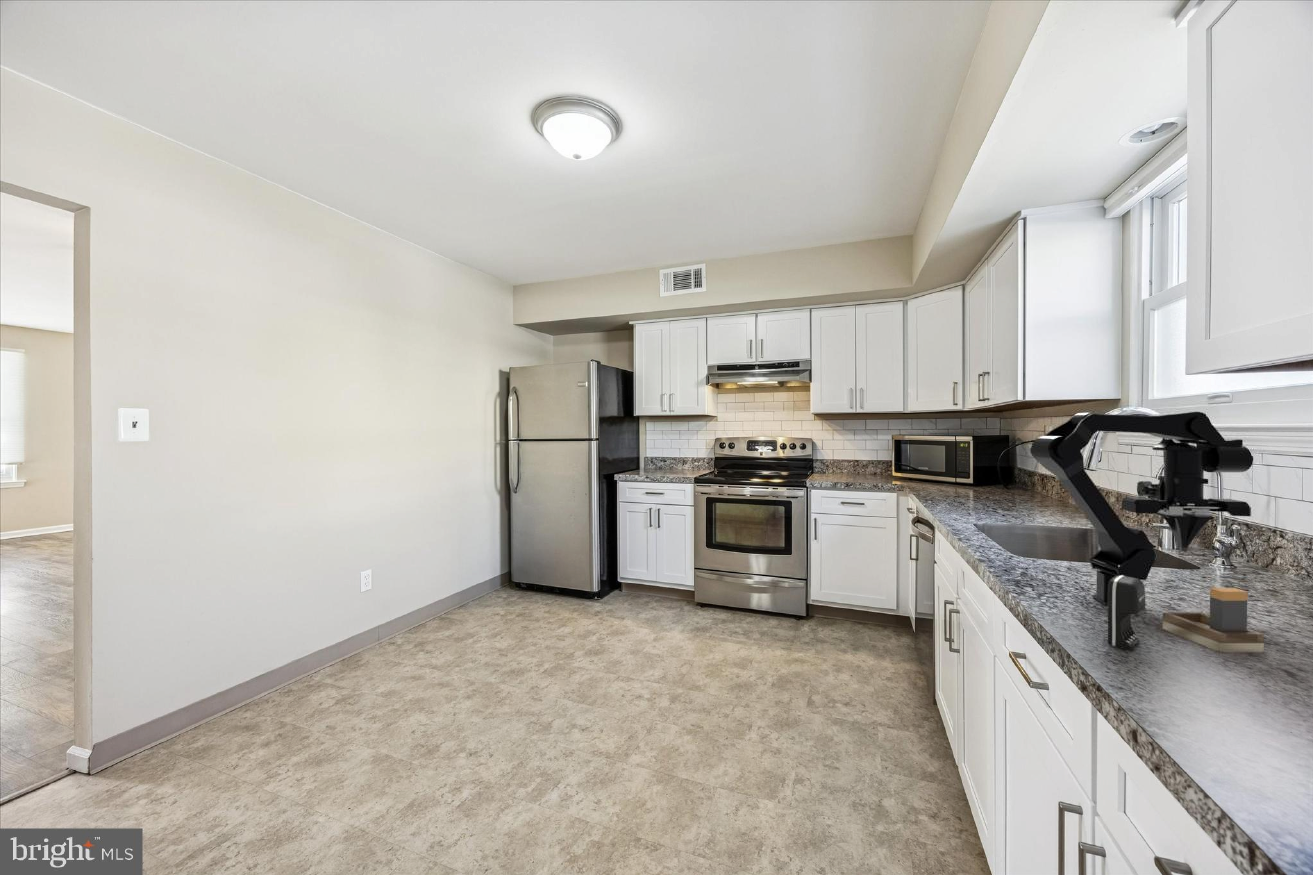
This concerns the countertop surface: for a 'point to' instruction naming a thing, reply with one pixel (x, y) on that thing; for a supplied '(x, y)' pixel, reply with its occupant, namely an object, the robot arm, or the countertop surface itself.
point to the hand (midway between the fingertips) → (1182, 547)
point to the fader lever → (1228, 610)
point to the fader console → (1211, 633)
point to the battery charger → (1124, 610)
